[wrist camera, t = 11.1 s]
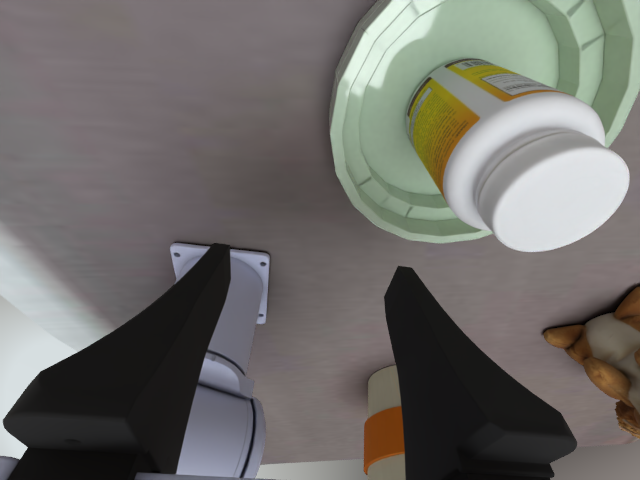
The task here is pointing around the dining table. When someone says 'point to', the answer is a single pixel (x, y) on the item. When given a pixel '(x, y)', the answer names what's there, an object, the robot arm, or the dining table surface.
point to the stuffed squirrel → (609, 356)
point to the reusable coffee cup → (384, 428)
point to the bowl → (449, 45)
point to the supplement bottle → (515, 155)
